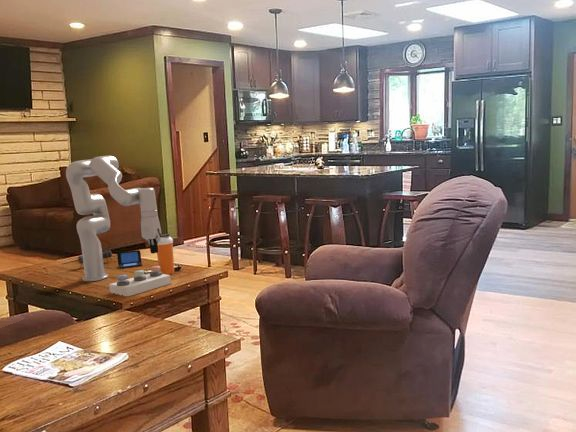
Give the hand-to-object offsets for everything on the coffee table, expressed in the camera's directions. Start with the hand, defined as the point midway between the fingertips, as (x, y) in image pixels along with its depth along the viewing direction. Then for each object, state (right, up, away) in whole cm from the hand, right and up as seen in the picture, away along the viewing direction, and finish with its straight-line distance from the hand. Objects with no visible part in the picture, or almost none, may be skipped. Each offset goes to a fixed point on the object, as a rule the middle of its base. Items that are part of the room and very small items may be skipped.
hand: (154, 252), depth 286 cm
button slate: (-12, -11, -12) cm, 20 cm away
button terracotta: (0, -8, +2) cm, 9 cm away
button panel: (-5, -16, -4) cm, 17 cm away
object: (-24, -10, +47) cm, 54 cm away
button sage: (-6, -10, -5) cm, 12 cm away
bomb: (-48, -11, +54) cm, 73 cm away
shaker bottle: (+2, -12, +22) cm, 25 cm away
